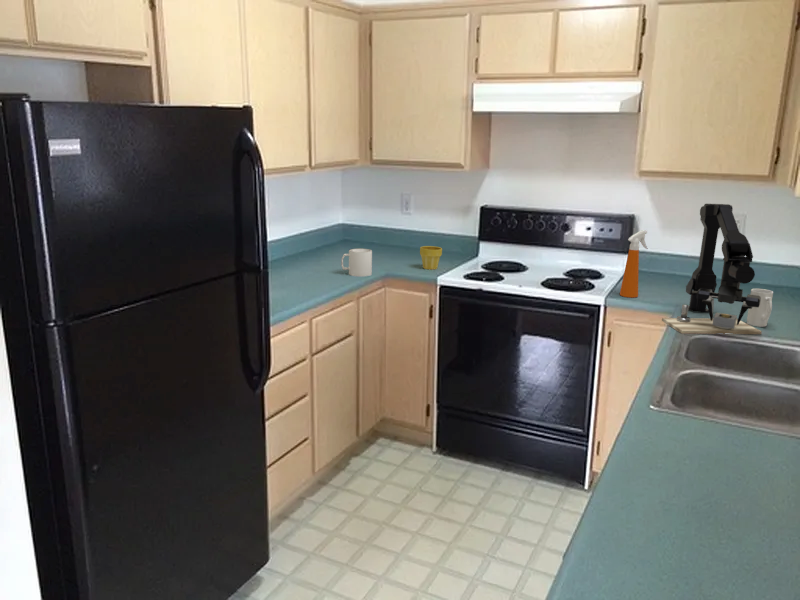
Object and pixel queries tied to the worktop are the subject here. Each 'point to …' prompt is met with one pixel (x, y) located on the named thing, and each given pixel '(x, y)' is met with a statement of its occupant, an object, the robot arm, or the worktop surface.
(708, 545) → the worktop surface
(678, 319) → the stand
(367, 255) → the mug
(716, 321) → the grey square frame
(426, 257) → the plant pot
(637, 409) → the worktop surface
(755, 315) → the mug
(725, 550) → the worktop surface
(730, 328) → the hub
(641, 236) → the spray bottle
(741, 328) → the board
